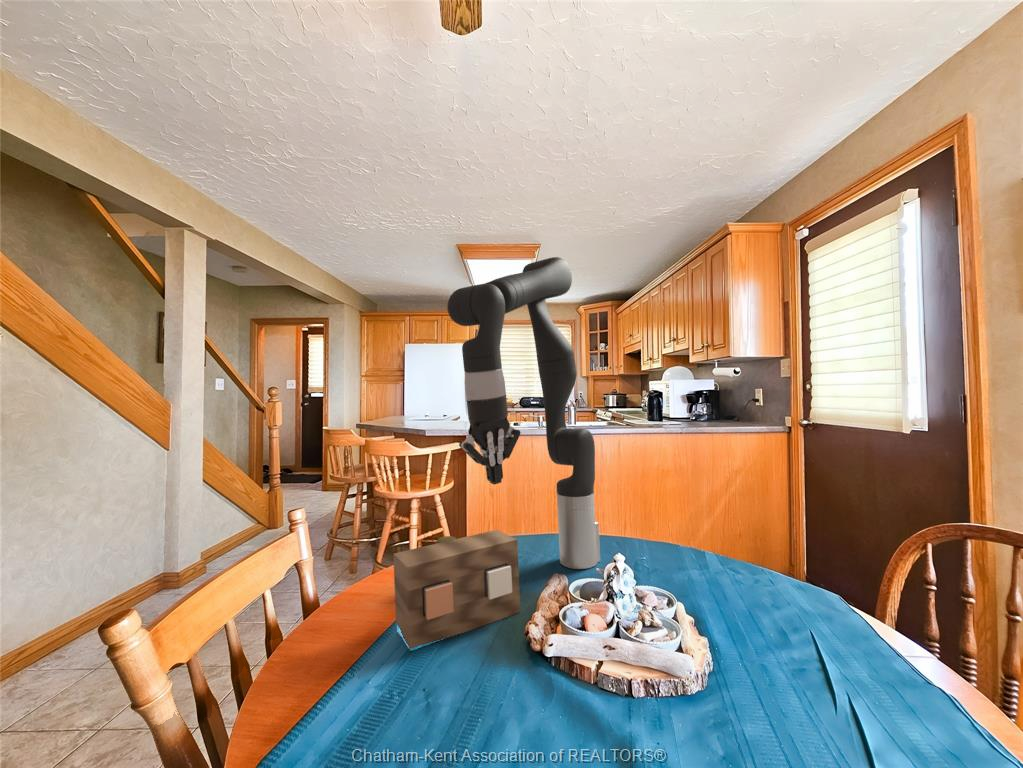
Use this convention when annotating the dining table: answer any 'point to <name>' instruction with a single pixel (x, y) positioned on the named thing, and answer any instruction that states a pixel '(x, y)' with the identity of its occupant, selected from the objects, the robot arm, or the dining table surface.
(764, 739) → the dining table surface
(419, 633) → the walnut panel
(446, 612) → the terracotta button
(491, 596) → the cream button
